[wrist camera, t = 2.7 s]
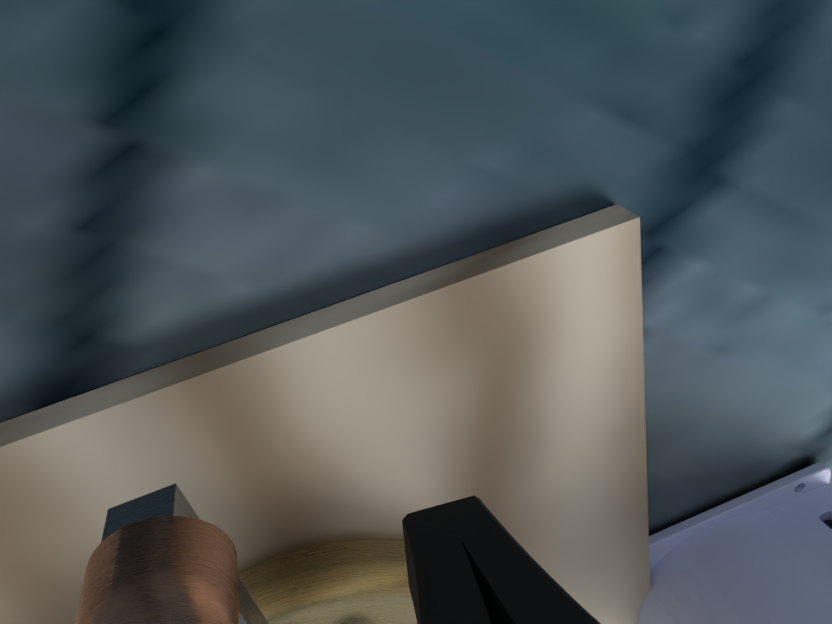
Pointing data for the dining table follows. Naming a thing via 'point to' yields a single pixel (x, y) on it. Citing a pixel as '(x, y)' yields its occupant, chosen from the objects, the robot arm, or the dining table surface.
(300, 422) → the base plate
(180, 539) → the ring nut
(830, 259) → the dining table surface
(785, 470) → the dining table surface
